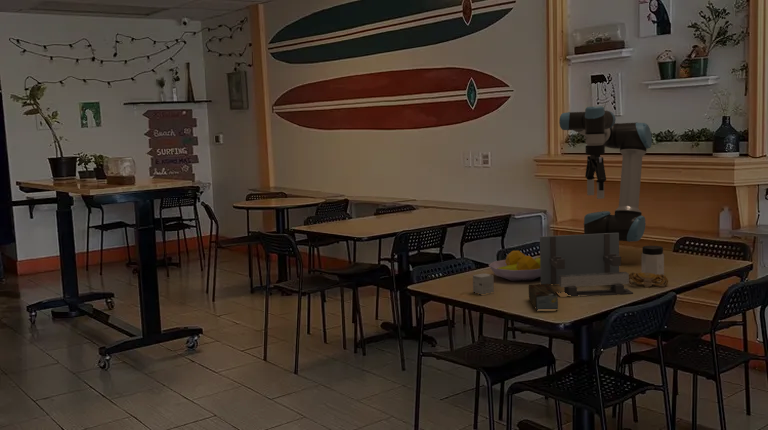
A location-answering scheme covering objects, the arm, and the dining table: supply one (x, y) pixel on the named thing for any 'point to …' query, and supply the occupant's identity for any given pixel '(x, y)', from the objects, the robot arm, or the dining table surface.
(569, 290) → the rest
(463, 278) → the dining table surface
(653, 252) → the jar
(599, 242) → the panel
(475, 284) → the skincare box
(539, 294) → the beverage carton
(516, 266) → the fruit bowl
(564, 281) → the rail
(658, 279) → the crab model
